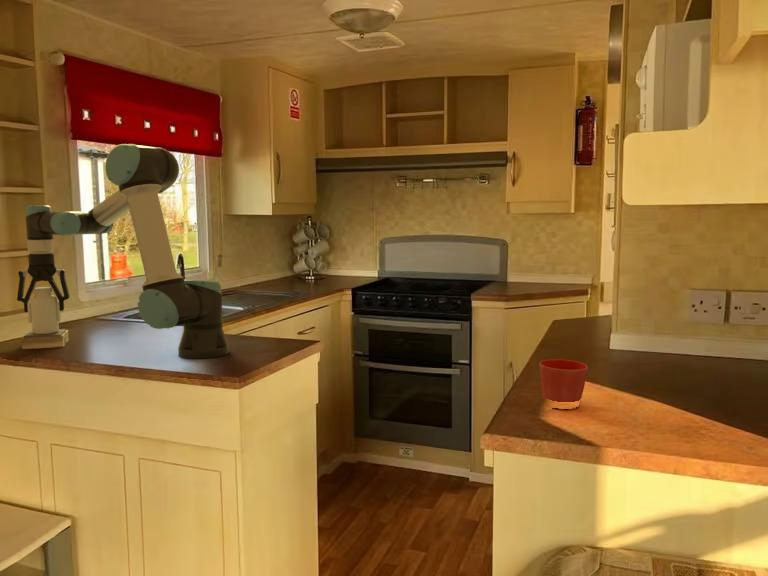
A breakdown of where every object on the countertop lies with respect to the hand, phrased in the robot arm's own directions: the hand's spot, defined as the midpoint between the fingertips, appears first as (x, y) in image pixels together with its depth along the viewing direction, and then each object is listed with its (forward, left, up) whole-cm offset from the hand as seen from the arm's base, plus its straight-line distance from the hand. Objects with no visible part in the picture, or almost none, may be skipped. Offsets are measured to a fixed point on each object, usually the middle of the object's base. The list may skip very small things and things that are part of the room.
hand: (45, 321), depth 216 cm
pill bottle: (0, 0, -4) cm, 4 cm away
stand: (0, 0, -8) cm, 8 cm away
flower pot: (-111, -125, -8) cm, 168 cm away
